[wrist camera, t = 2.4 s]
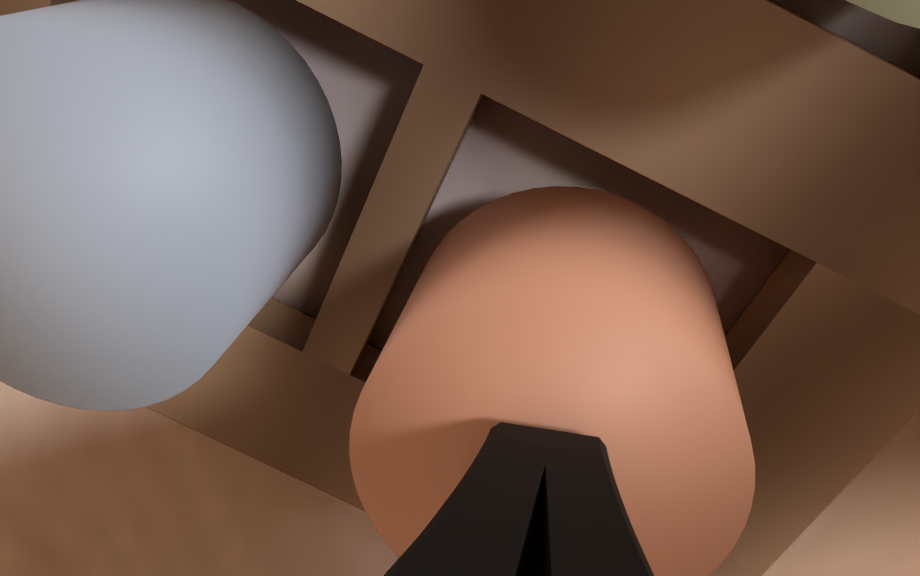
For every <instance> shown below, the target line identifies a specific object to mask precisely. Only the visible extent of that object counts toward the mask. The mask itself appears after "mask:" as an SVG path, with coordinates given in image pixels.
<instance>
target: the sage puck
mask: <svg viewBox="0 0 920 576" xmlns="http://www.w3.org/2000/svg"><path fill="white" fill-rule="evenodd" d="M845 1H848V2H850V3H852V4H854V5H857V6H859V7H861V8H863V9H866V10H868V11H870V12H873V13H875V14H877V15H880V16H882V17H884V18H887V19H889V20H891V21H894V22H896V23H900V24H904V25H908V26H911V27H915V28H919V29H920V0H845Z"/></svg>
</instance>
